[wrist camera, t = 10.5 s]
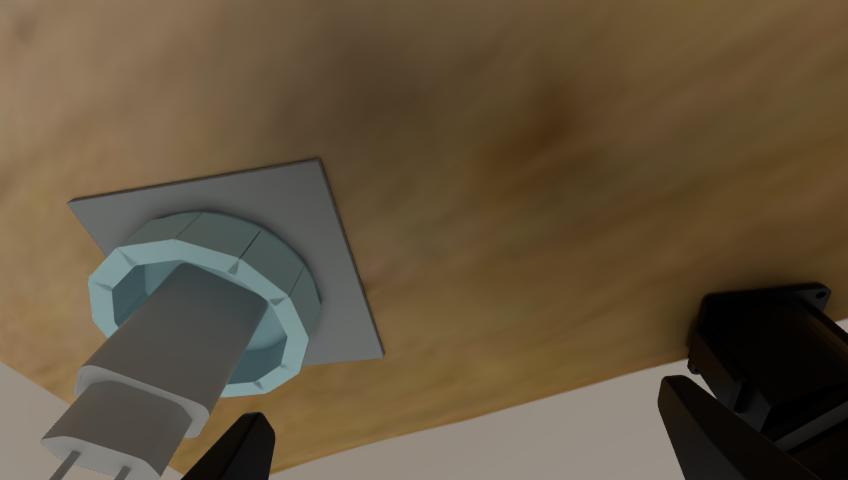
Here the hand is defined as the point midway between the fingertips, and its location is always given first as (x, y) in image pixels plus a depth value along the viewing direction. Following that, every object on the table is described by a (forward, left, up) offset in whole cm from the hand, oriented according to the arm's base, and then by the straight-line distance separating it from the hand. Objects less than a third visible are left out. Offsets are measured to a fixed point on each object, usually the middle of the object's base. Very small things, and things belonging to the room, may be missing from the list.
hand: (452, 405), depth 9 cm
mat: (+13, +5, -13) cm, 19 cm away
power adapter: (+14, +5, -12) cm, 19 cm away
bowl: (+14, +5, -13) cm, 19 cm away
